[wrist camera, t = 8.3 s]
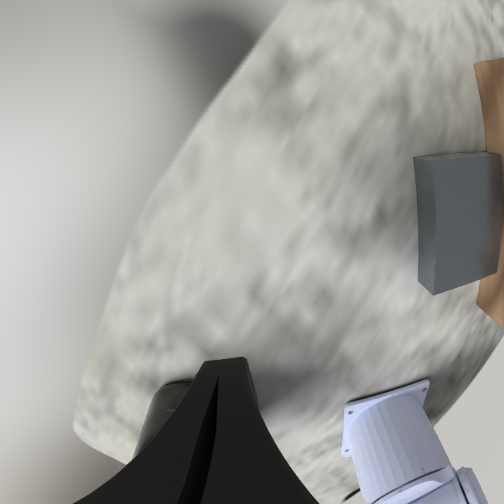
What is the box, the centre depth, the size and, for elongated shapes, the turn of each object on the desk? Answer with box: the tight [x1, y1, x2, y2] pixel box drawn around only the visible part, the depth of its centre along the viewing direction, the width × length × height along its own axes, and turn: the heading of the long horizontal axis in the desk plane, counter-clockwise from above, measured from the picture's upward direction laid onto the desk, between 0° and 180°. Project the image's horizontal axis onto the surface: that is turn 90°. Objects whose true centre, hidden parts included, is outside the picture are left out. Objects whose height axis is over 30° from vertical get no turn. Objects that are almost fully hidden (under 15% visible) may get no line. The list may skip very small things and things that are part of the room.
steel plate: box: [413, 152, 503, 295], centre depth 15 cm, size 8×6×2 cm
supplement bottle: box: [132, 382, 191, 460], centre depth 15 cm, size 7×7×12 cm
